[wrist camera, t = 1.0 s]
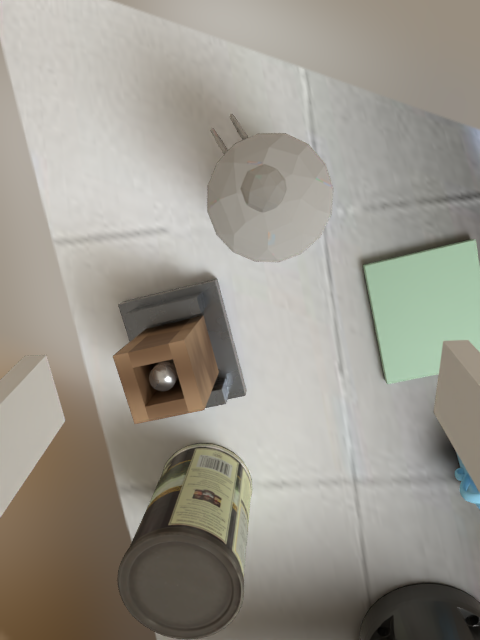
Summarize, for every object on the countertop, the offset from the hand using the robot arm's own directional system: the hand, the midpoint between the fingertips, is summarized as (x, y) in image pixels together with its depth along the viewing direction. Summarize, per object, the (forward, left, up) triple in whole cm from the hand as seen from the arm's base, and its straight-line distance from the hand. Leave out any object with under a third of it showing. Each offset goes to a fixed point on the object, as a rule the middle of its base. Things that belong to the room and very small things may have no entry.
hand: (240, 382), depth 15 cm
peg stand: (-5, +10, -29) cm, 31 cm away
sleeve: (-5, +10, -28) cm, 30 cm away
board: (-7, -14, -29) cm, 33 cm away
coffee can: (-21, +12, -29) cm, 38 cm away
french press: (+7, -2, -29) cm, 30 cm away
